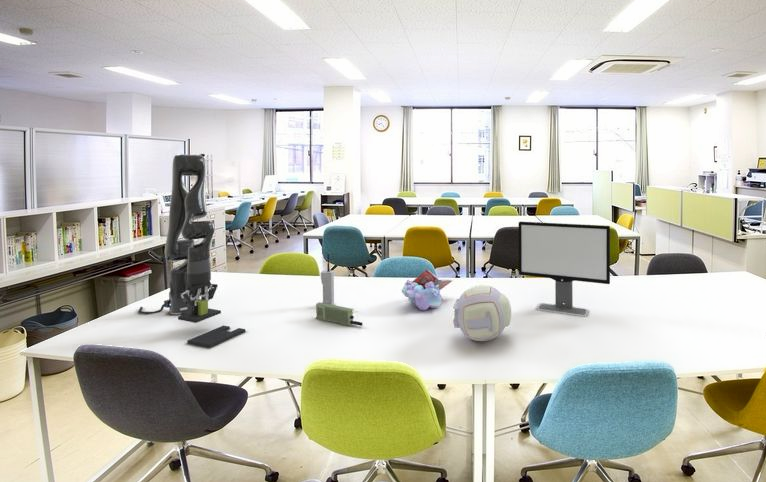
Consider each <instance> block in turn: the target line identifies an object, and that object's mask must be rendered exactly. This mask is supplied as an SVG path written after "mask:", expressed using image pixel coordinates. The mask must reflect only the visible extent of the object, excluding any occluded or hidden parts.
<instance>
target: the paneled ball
mask: <svg viewBox="0 0 766 482" xmlns="http://www.w3.org/2000/svg"><path fill="white" fill-rule="evenodd" d="M452 308H453V310H454V311H453V312H454V313H453V317H454V318H453V320H452V321H453V326H454V329H460V331H461V332H462V333H463V334H464V336H465V337H467V338H468V339H470V340H472V341H476V342H487V341H488V342H489V341H491V340H493V339H495V338H497V337H498V336H500V335H501V334H502V333H503V332H504V330H505V329H506V328H508V327H509V326H510V323H511V321H512V320H511V319H512V307H511V303H510V300H509V299H508V297H507V295H506V294H504V293H503V292H501V291H500V290H499V289H497V288H495V286H494V287H493V286H491V285H486V284H478V285H474V286H472V287H469V288H468V289H466V290H464V291H463V292H462V294H461V295H460V296H459V298H456V299H455V302H454V304H453V306H452Z"/></svg>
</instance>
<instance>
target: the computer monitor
mask: <svg viewBox="0 0 766 482" xmlns="http://www.w3.org/2000/svg"><path fill="white" fill-rule="evenodd" d="M518 276H527V277H535V278H545V279H552V280H553V281H555V282H554V285H555V287H554V288H555V293H554V295H555V296H554V297H555V300H554V301H555V304H553V303H545V302H542V303H539V304H538V305H537V310H539V311H542V312H550V313H555V314H564V315H571V316H578V317H586V316H588V309H587V308H583V307H576V306H573V301H574V300H573V282H584V283H594V284H604V285H610V283H611V226H610V225H604V224H603V225H601V224H600V225H599V224H580V223H578V224H577V223H559V222H540V221H539V222H538V221H537V222H536V221H519V222H518Z"/></svg>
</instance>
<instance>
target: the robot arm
mask: <svg viewBox="0 0 766 482" xmlns="http://www.w3.org/2000/svg"><path fill="white" fill-rule="evenodd" d="M171 169H172V170H171V171H172V173H171V174H172V175H171V177H172V178H171V180H172V181H171V195H170V201H169V202H170V203H169V210H168V212H169V213H168V227H167V228H168V230H167V235H166V239H165V246H164V258H165V260H166V261H167V262H179V261H183V262H182V263H181V264H179V265H177V266H174V267H173V268H171V269H170V270H169V291H168V299H166V300H164V301H163V304H162V305H161V306H160V309H158V310H154V311H142V310H143V309H144V307H143V306H139V309H138V314H143V315H150V314H151V315H152V314H158V313H160V312H162V311H163V310H164V308H168V309H169V314H170V315H171V316H172V315H173V316H178V315H179V316H180V315H181V313H182V312H185V311H188V310H191V312H192V314H193V315H197V314H198V300H199V299H202V300H208V302H209V301H210V300H213V298H214V296H215V294H216V291H217V289H218V284H217V283H212V282H211V280H212V269H211V268H212V265H211V264H212V263H211V254H210V253H211V252H210V251H211V243H212V239H213V236H214V235H215V230H216V225H215V223H214V222H213V221H212V220H201V219H203V218H205V217H206V216H207V215H208V208H207V207H208V205H207V199H206V188H207V187H206V185H207V161H206V158H205V156H203V155H200V154H186V153H183V154H182V153H177V154H175V155H174V156H173V159H172V168H171ZM183 177H196V181H195V183H194V184H193V186H192V187H191V188H190V189H189V190H188V188H187V186H186V185H185V183H184V181H183ZM198 220H199V221H198ZM180 235H181V236H182V238H183V239H179V237H180ZM199 239H200V240H201V239H202V240H201V242H198V243H196V241H195V240H199Z"/></svg>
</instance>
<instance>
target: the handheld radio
mask: <svg viewBox="0 0 766 482" xmlns="http://www.w3.org/2000/svg"><path fill="white" fill-rule="evenodd" d="M315 309H316V310H315V312H316V313H315V314H316V319H318V320H322V321H327V322H331V323H334V324H335V323H336V324H340V325H345V326H351V327H352V326H355V325H356V326H360V327H362V326H363V322H361V321H357V320H354V318H355V316H354V310H355V309H354V308H352V307H351V308H350V307H345V306H341V305H335V304H334V305H331V304H326V303H322V302H316V304H315Z"/></svg>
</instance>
